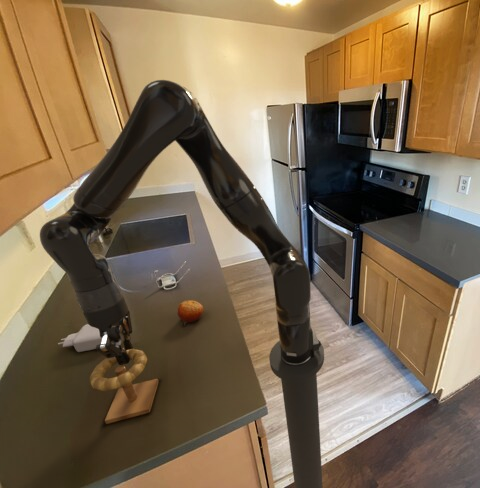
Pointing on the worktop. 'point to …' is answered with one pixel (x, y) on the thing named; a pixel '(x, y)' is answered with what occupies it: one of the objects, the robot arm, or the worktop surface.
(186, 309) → the fruit
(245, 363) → the worktop surface
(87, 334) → the charger
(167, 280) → the wall mount rack
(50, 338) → the worktop surface
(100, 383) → the ring
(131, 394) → the wooden peg stand
